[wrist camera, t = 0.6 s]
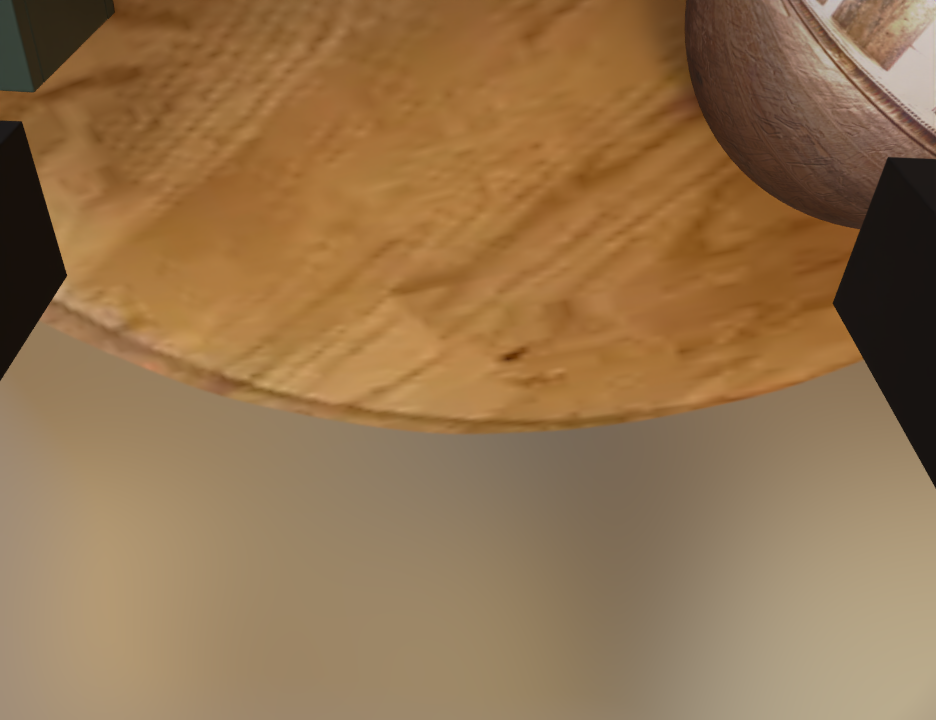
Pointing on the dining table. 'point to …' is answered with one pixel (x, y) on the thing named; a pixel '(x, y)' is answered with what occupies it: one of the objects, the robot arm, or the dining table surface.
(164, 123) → the dining table surface
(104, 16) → the cabinet
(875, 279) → the robot arm
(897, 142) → the wooden sphere
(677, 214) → the dining table surface
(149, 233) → the dining table surface
